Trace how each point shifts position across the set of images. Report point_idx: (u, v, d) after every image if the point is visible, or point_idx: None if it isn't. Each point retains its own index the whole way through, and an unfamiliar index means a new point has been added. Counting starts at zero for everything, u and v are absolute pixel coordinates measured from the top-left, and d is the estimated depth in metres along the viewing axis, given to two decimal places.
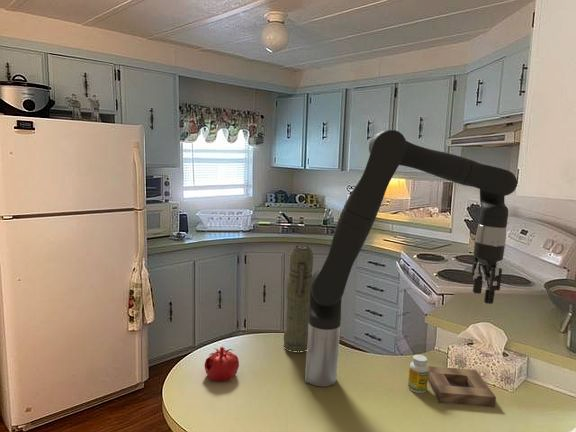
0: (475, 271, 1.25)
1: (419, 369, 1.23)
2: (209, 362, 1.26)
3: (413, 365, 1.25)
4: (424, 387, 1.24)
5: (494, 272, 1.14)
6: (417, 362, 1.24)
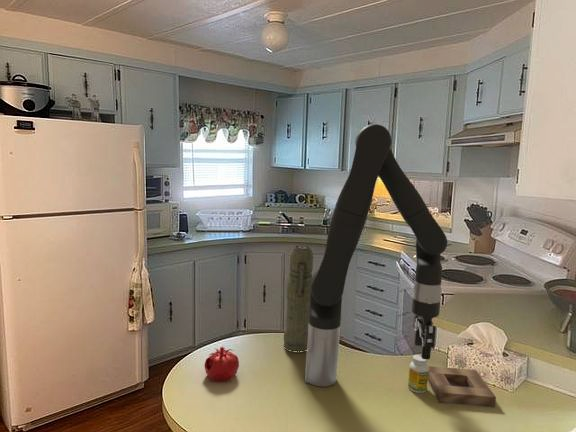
0: (415, 325, 1.27)
1: (419, 369, 1.23)
2: (209, 362, 1.26)
3: (413, 365, 1.25)
4: (424, 387, 1.24)
5: (428, 330, 1.17)
6: (417, 362, 1.24)
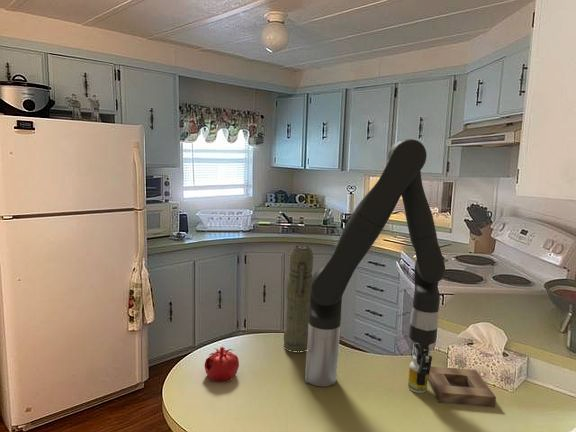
0: (412, 352, 1.27)
1: None
2: (209, 362, 1.26)
3: (413, 365, 1.25)
4: (424, 387, 1.24)
5: (424, 360, 1.18)
6: None
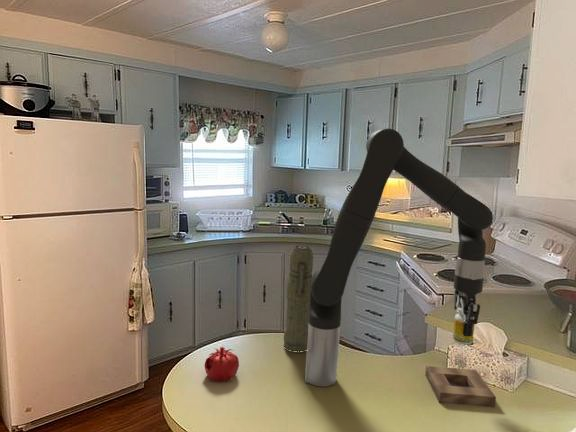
0: (457, 304, 1.26)
1: None
2: (209, 362, 1.26)
3: (459, 316, 1.23)
4: (471, 338, 1.22)
5: (472, 309, 1.16)
6: None
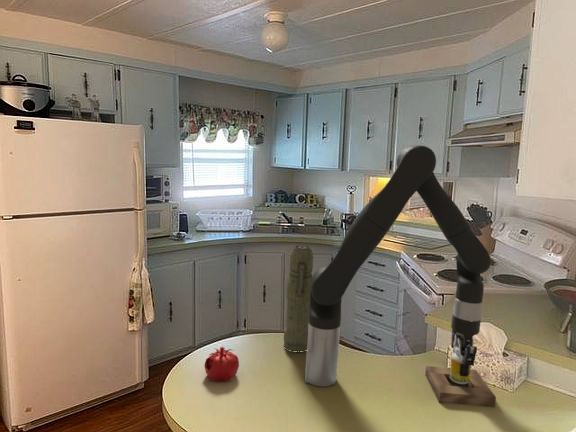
0: (454, 343, 1.27)
1: None
2: (209, 362, 1.26)
3: (456, 356, 1.25)
4: (467, 378, 1.24)
5: (469, 351, 1.18)
6: None
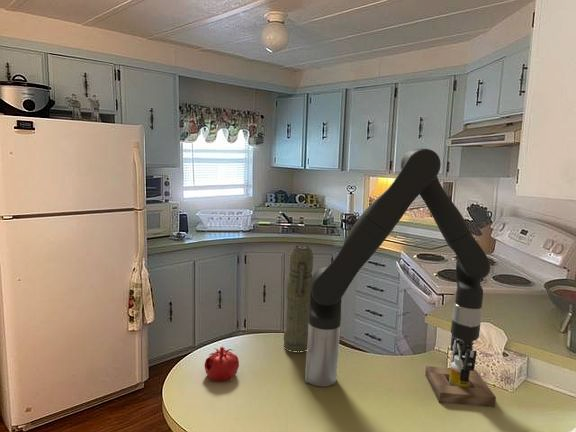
0: (453, 347, 1.28)
1: None
2: (209, 362, 1.26)
3: (455, 365, 1.25)
4: None
5: (469, 355, 1.18)
6: (459, 362, 1.24)
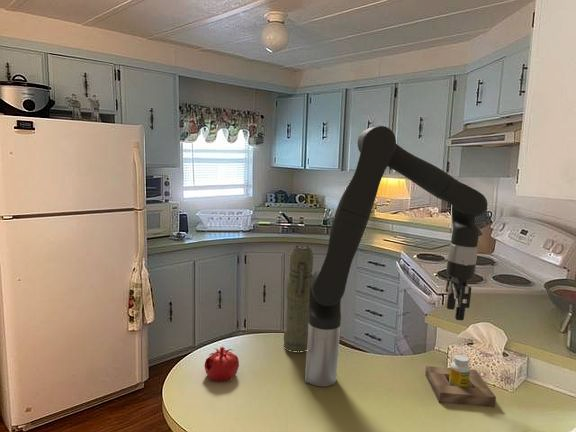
0: (448, 288, 1.29)
1: (461, 369, 1.23)
2: (209, 362, 1.26)
3: (454, 365, 1.25)
4: None
5: (464, 290, 1.19)
6: (459, 362, 1.24)
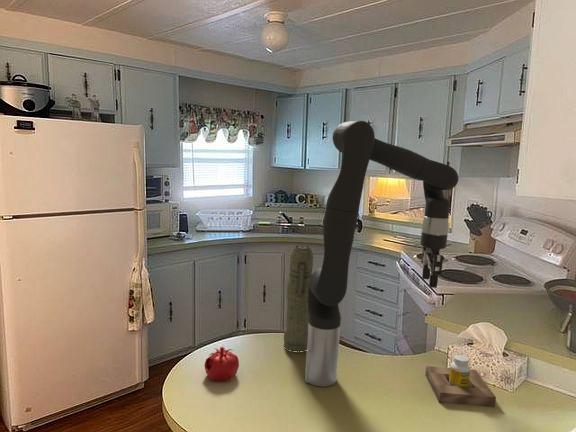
0: (423, 259, 1.37)
1: (461, 369, 1.23)
2: (209, 362, 1.26)
3: (454, 365, 1.25)
4: None
5: (436, 259, 1.27)
6: (459, 362, 1.24)
